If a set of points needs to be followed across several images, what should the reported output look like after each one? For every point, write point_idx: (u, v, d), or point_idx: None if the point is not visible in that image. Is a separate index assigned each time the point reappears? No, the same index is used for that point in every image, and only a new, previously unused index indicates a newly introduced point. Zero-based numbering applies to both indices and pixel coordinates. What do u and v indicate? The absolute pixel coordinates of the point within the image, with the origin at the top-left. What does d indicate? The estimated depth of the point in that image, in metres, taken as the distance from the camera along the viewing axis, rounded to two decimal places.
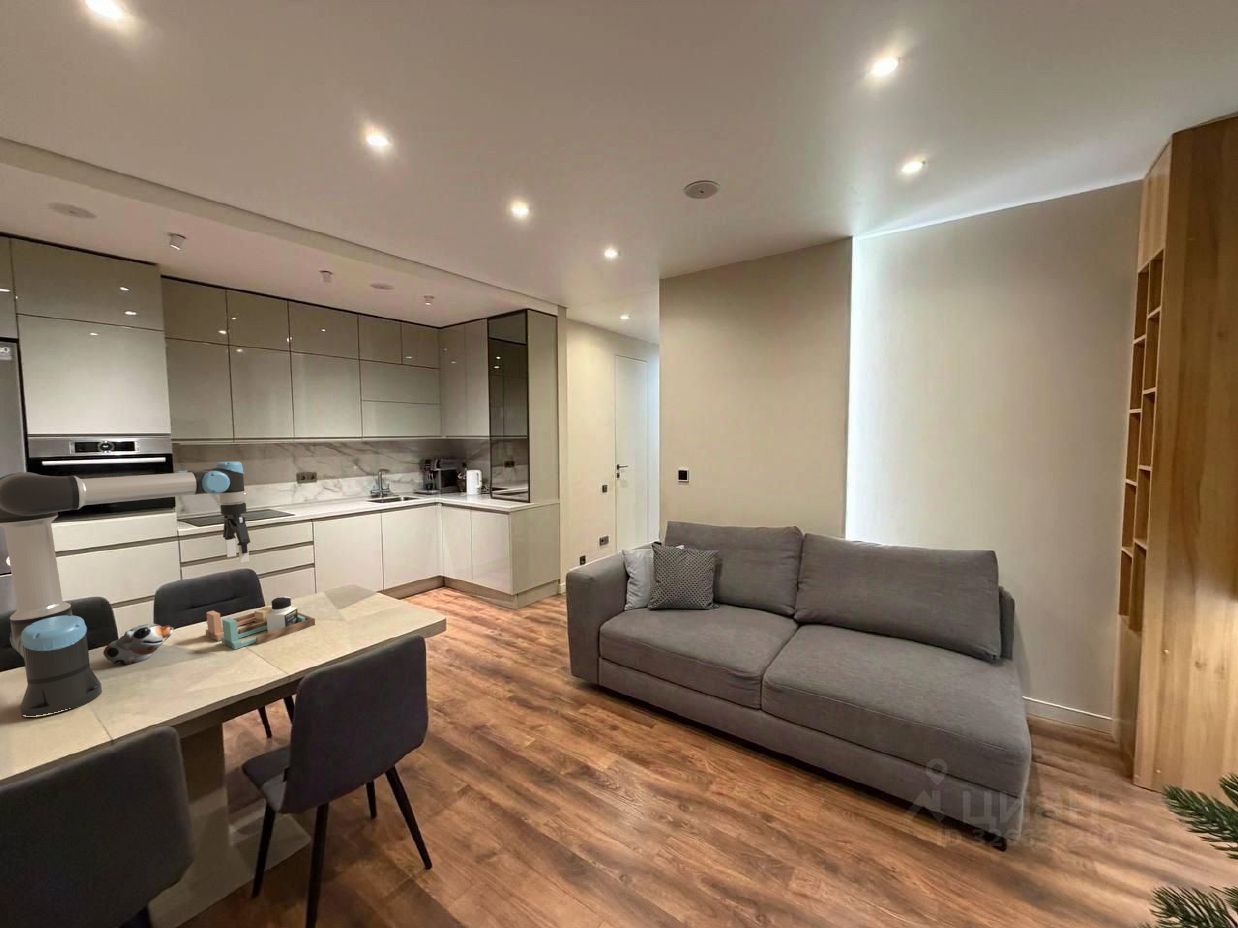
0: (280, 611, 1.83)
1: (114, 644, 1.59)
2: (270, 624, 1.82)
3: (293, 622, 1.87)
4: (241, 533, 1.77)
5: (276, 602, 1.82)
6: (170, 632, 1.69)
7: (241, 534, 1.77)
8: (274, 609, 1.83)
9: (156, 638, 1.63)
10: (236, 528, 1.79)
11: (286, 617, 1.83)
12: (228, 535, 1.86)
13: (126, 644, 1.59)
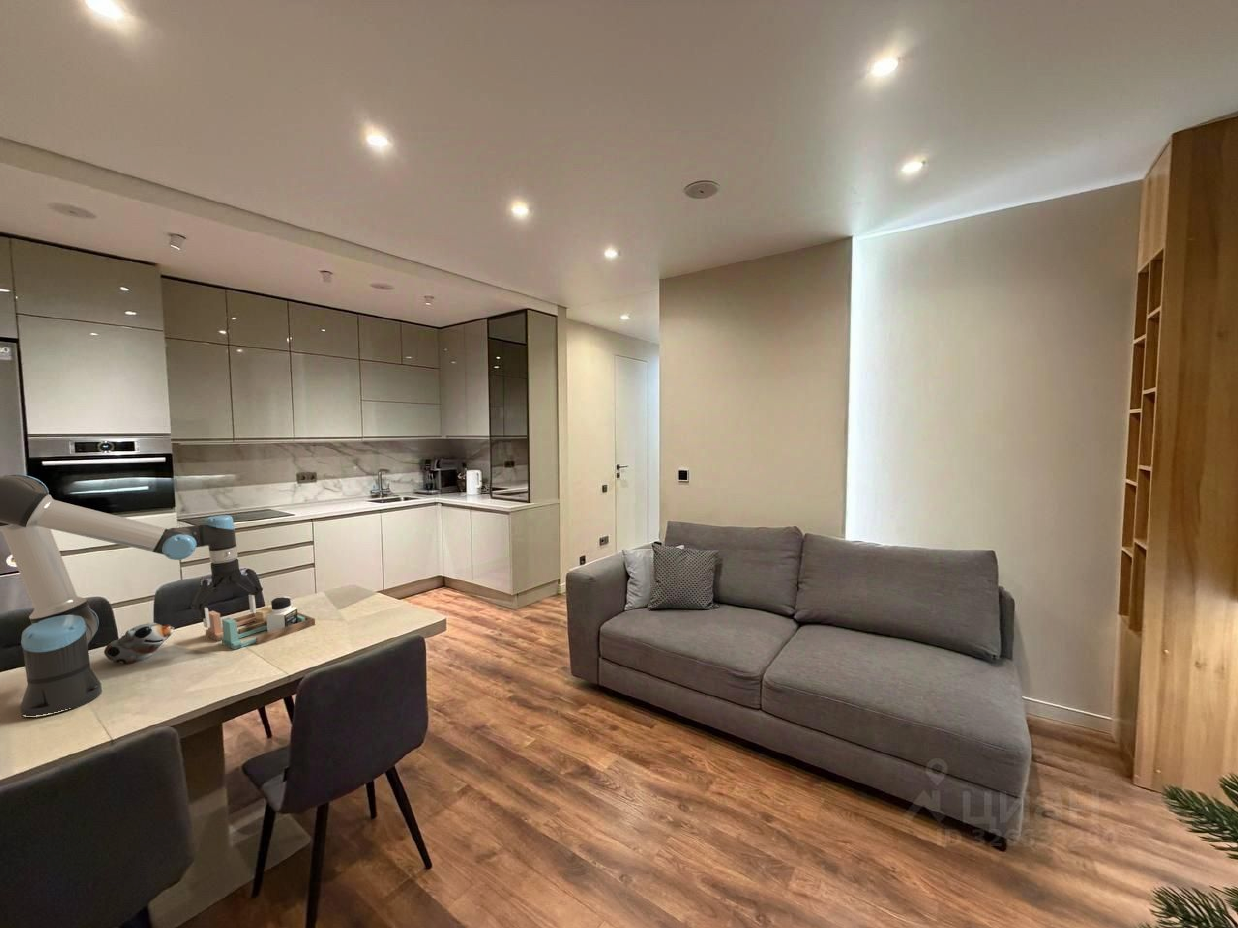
0: (280, 611, 1.83)
1: (115, 643, 1.60)
2: (270, 624, 1.82)
3: (293, 622, 1.87)
4: (195, 597, 1.64)
5: (276, 602, 1.82)
6: (171, 631, 1.70)
7: (195, 598, 1.63)
8: (274, 609, 1.82)
9: (157, 637, 1.64)
10: (211, 588, 1.67)
11: (285, 617, 1.83)
12: (247, 590, 1.76)
13: (127, 644, 1.60)
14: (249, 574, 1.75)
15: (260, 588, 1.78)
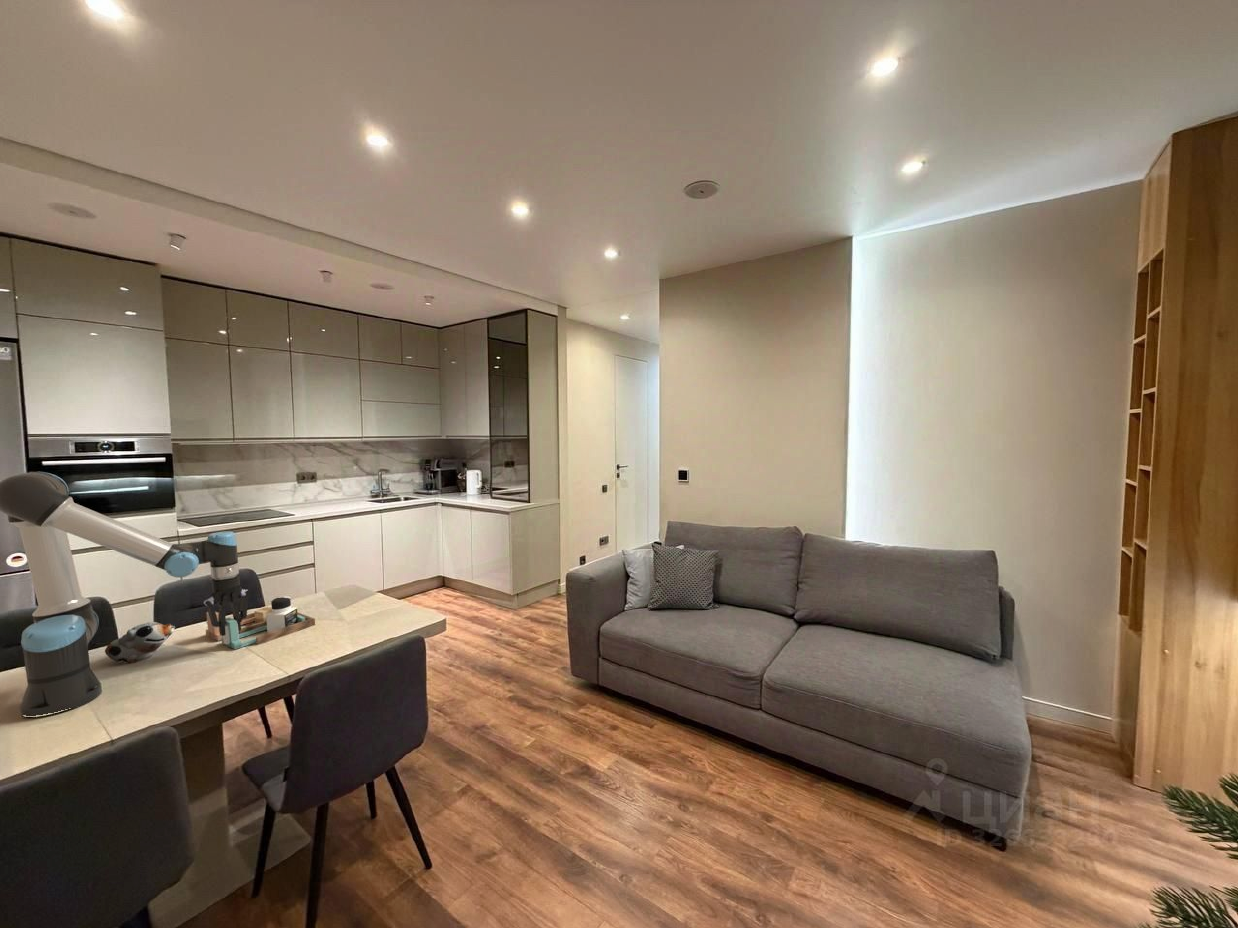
0: (280, 611, 1.83)
1: (116, 642, 1.60)
2: (270, 624, 1.82)
3: (293, 622, 1.87)
4: (209, 616, 1.67)
5: (276, 602, 1.82)
6: (171, 630, 1.70)
7: (210, 617, 1.67)
8: (274, 609, 1.82)
9: (158, 636, 1.65)
10: (219, 606, 1.69)
11: (285, 617, 1.83)
12: (233, 614, 1.73)
13: (128, 643, 1.60)
14: (246, 596, 1.75)
15: (244, 615, 1.74)
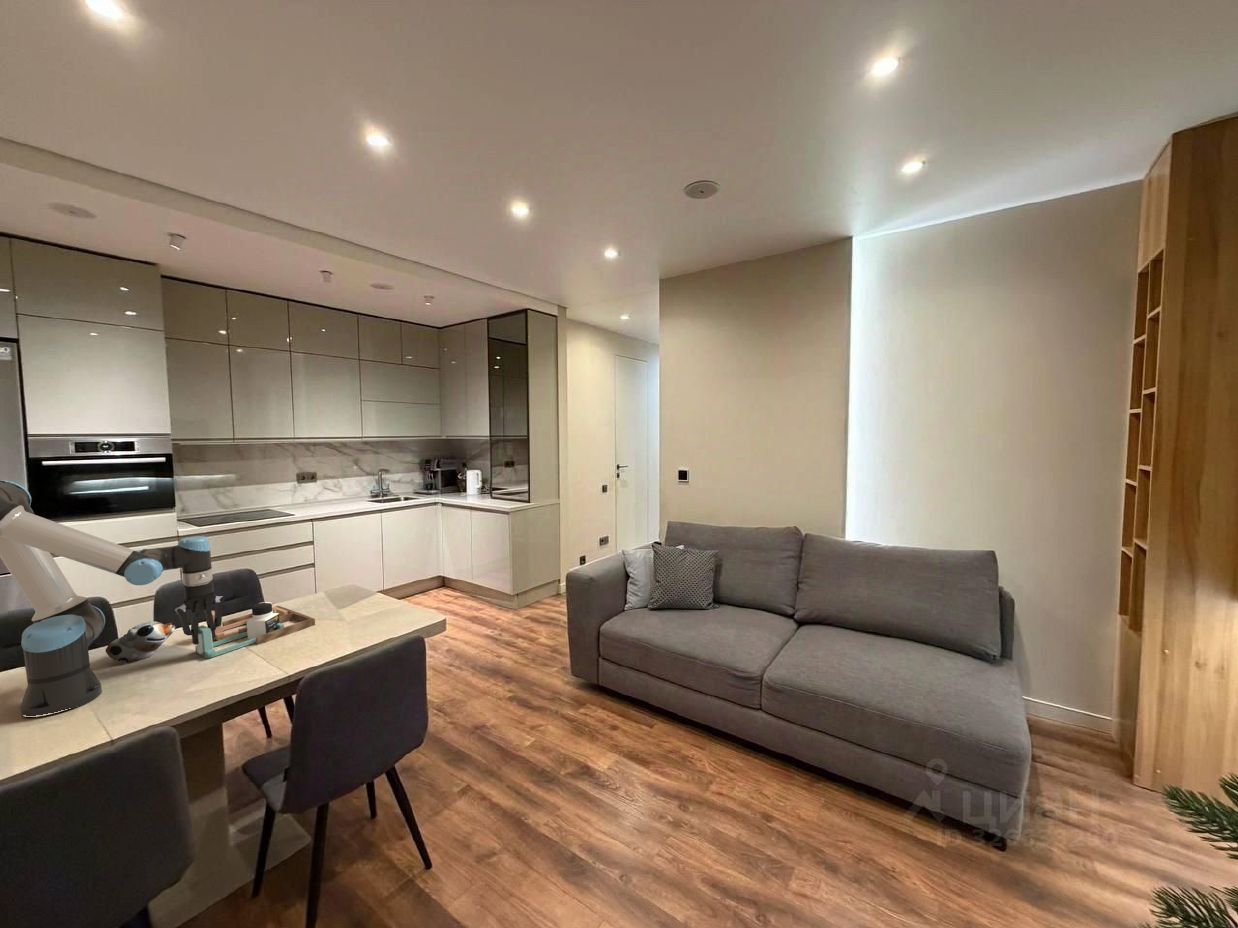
0: (261, 617, 1.78)
1: (117, 642, 1.61)
2: (250, 630, 1.77)
3: (274, 628, 1.81)
4: (181, 624, 1.61)
5: (256, 608, 1.77)
6: (172, 630, 1.71)
7: (182, 625, 1.61)
8: (254, 615, 1.77)
9: (159, 636, 1.65)
10: (191, 614, 1.63)
11: (266, 624, 1.77)
12: (207, 622, 1.66)
13: (129, 642, 1.61)
14: (221, 603, 1.68)
15: (219, 623, 1.68)
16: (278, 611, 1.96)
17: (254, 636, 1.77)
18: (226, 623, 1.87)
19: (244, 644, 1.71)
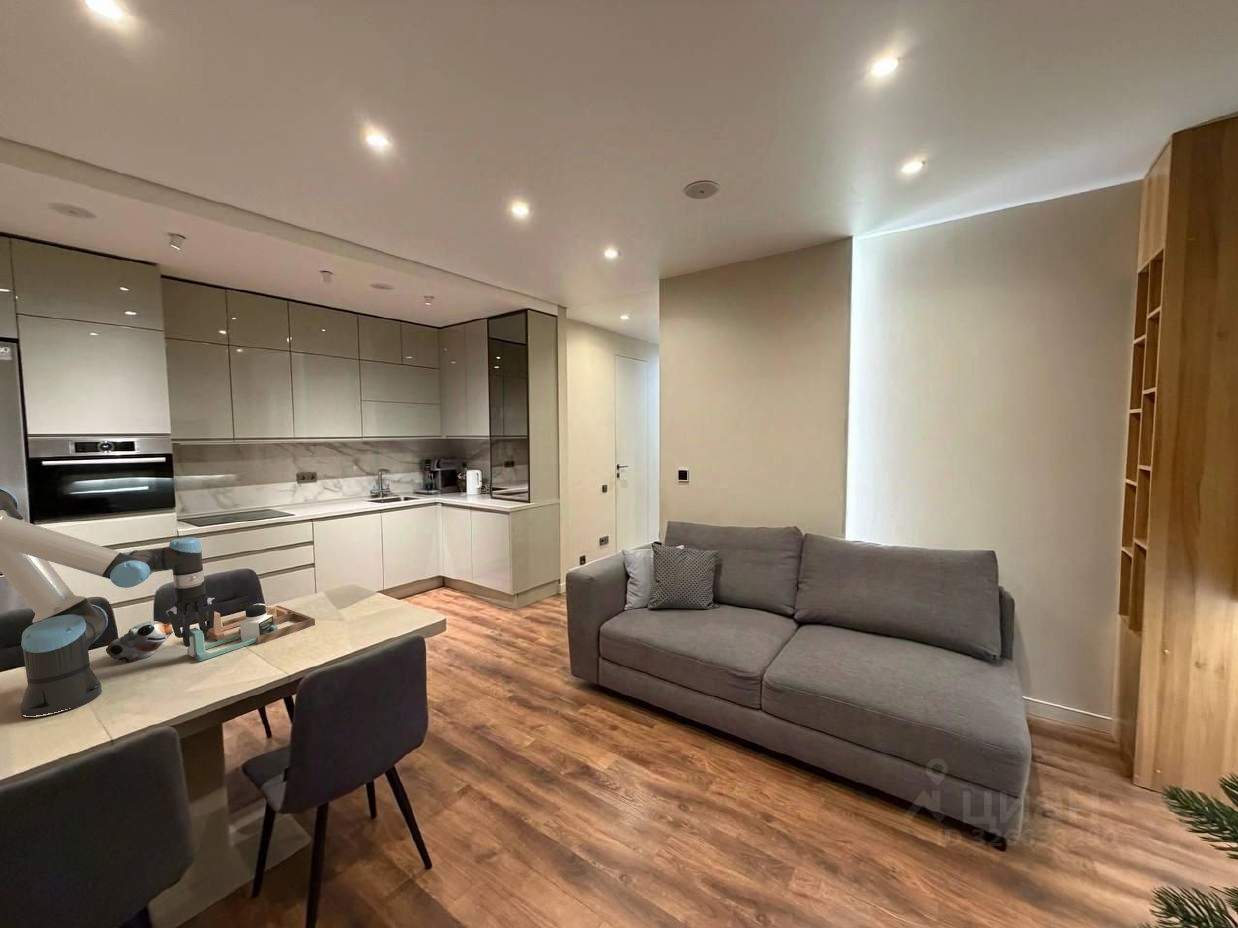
0: (254, 619, 1.76)
1: (117, 641, 1.61)
2: (244, 633, 1.75)
3: (268, 630, 1.79)
4: (172, 627, 1.59)
5: (250, 610, 1.75)
6: (172, 629, 1.71)
7: (173, 627, 1.59)
8: (248, 617, 1.75)
9: (160, 635, 1.66)
10: (183, 616, 1.61)
11: (260, 626, 1.76)
12: (199, 624, 1.65)
13: (130, 642, 1.61)
14: (213, 605, 1.66)
15: (211, 625, 1.66)
16: (278, 611, 1.96)
17: (248, 638, 1.75)
18: (226, 623, 1.87)
19: (237, 647, 1.69)
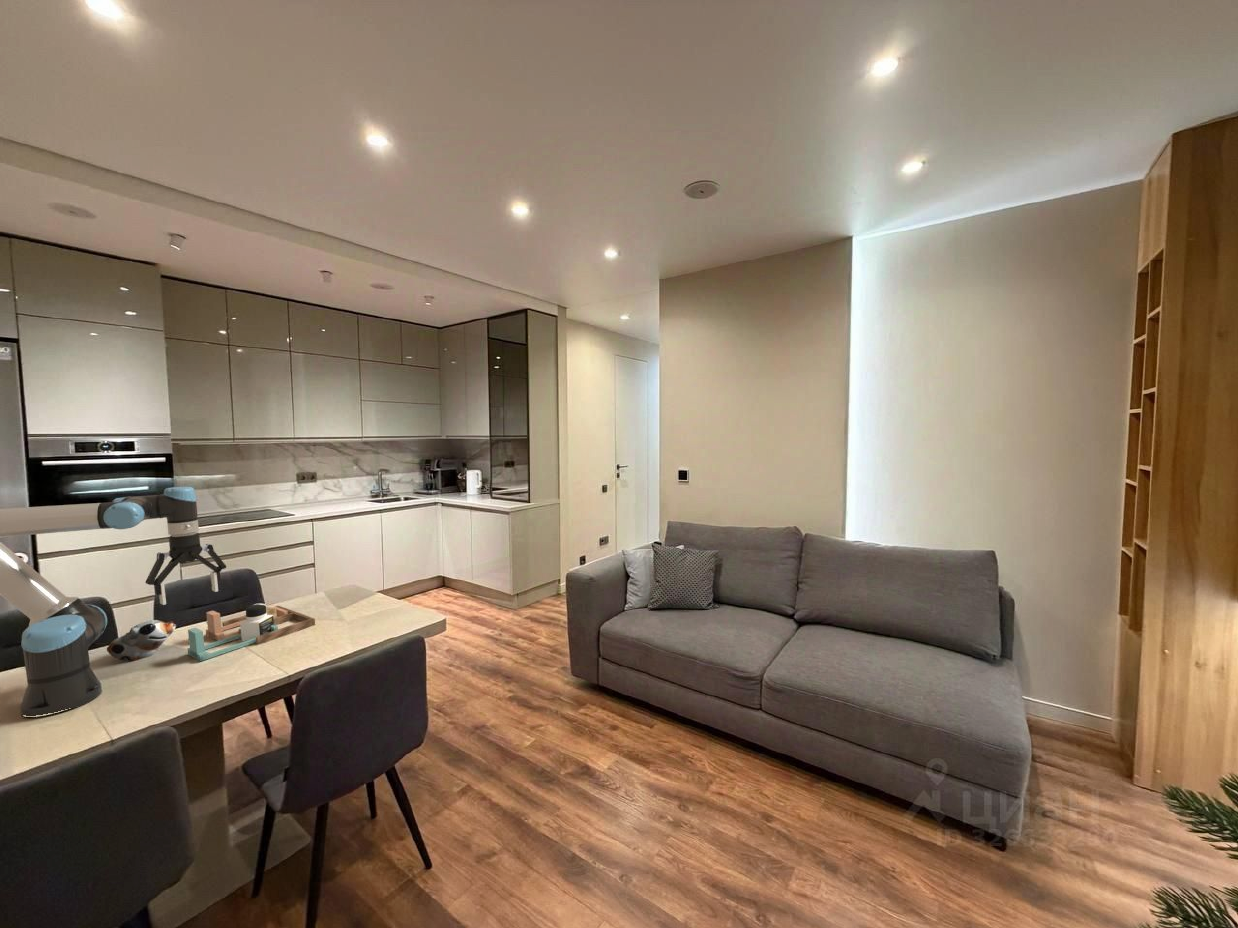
0: (254, 619, 1.76)
1: (119, 640, 1.62)
2: (244, 632, 1.75)
3: (268, 630, 1.80)
4: (151, 571, 1.54)
5: (250, 610, 1.75)
6: (173, 628, 1.72)
7: (150, 572, 1.54)
8: (248, 617, 1.75)
9: (161, 634, 1.67)
10: None
11: (260, 626, 1.76)
12: None
13: (131, 641, 1.62)
14: (211, 550, 1.66)
15: (223, 565, 1.68)
16: (278, 611, 1.96)
17: (248, 638, 1.75)
18: (226, 623, 1.87)
19: (237, 646, 1.69)
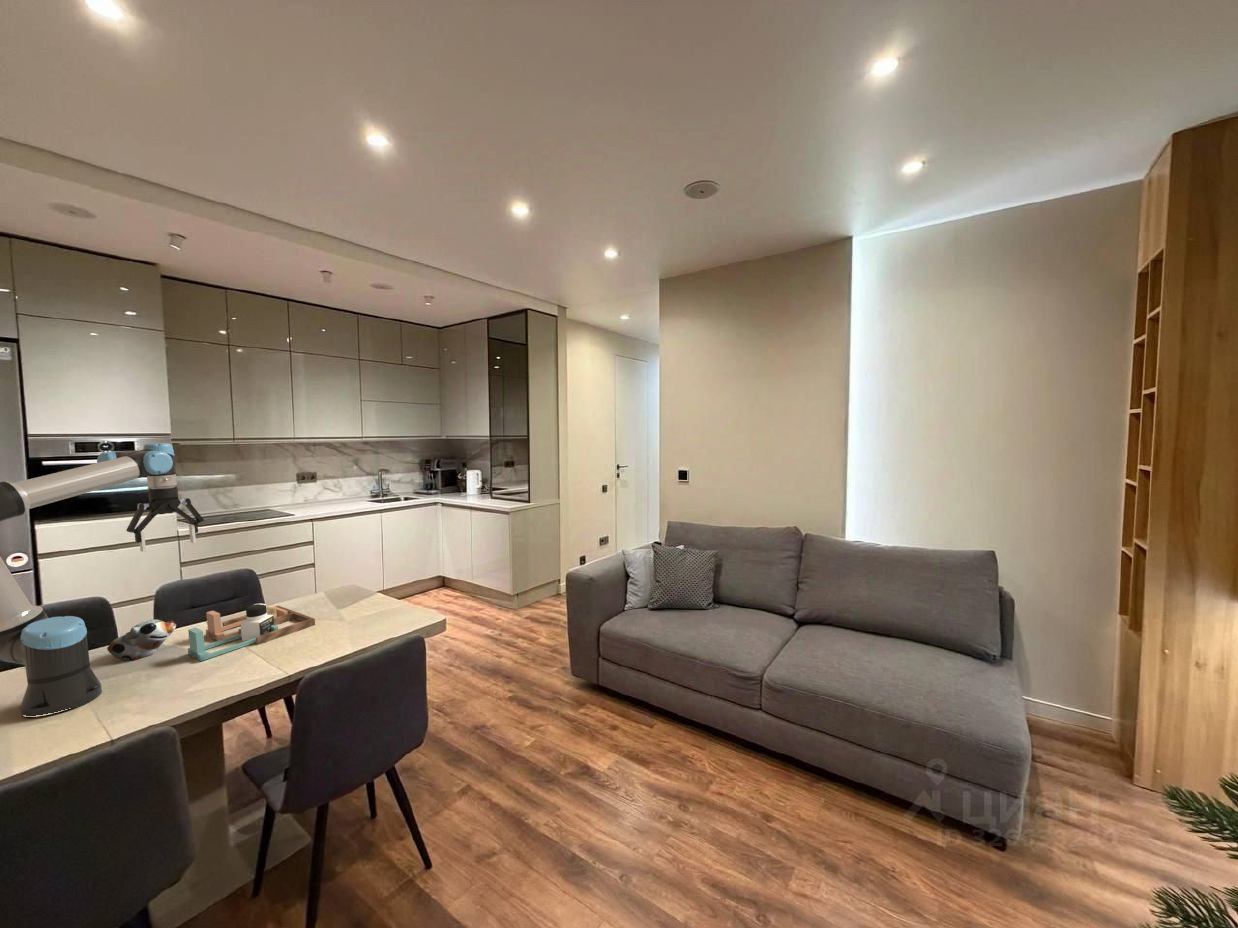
0: (255, 619, 1.76)
1: (119, 640, 1.62)
2: (244, 632, 1.75)
3: (269, 630, 1.80)
4: (131, 520, 1.66)
5: (250, 609, 1.75)
6: (173, 628, 1.73)
7: (131, 521, 1.66)
8: (248, 617, 1.76)
9: (162, 633, 1.67)
10: (148, 514, 1.69)
11: (261, 625, 1.76)
12: (187, 520, 1.78)
13: (132, 640, 1.62)
14: (189, 503, 1.77)
15: (201, 519, 1.80)
16: (278, 611, 1.96)
17: (248, 638, 1.76)
18: (226, 623, 1.87)
19: (237, 646, 1.69)
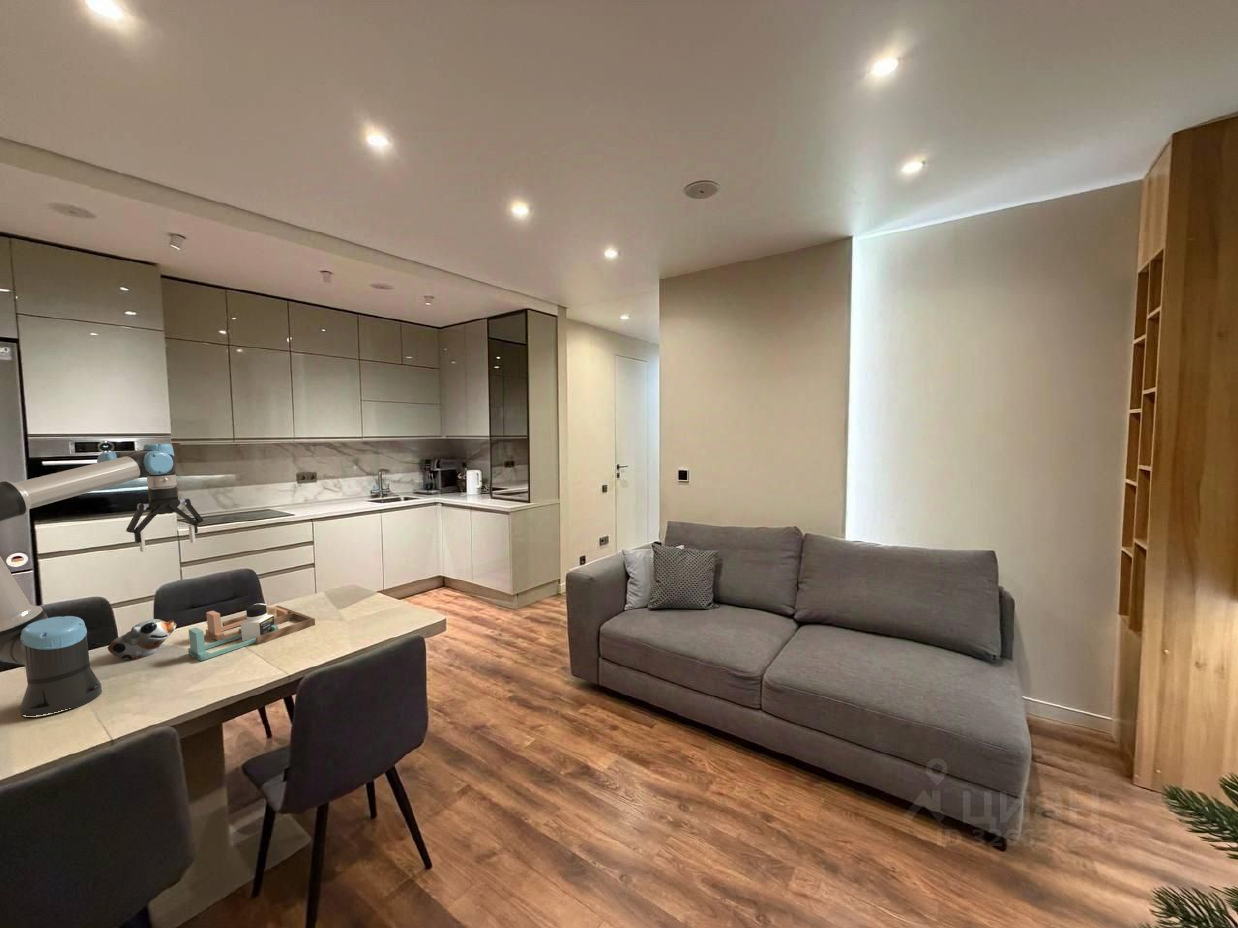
0: (255, 619, 1.76)
1: (120, 640, 1.62)
2: (244, 632, 1.75)
3: (269, 630, 1.80)
4: (131, 520, 1.66)
5: (251, 609, 1.75)
6: (174, 627, 1.73)
7: None
8: (249, 617, 1.76)
9: (162, 633, 1.68)
10: (148, 514, 1.69)
11: (261, 625, 1.76)
12: None
13: (133, 640, 1.62)
14: (189, 504, 1.77)
15: (200, 519, 1.80)
16: (278, 611, 1.96)
17: (248, 638, 1.76)
18: (226, 623, 1.87)
19: (237, 646, 1.69)
